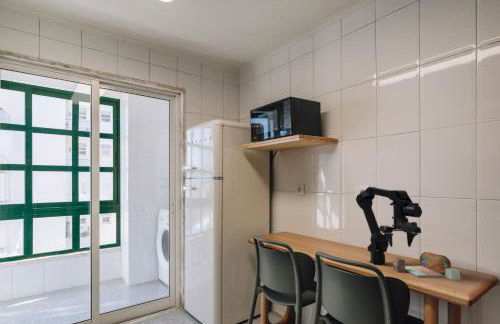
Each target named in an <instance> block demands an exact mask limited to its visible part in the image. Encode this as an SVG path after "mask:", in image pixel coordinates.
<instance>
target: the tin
mask: <svg viewBox="0 0 500 324" xmlns="http://www.w3.org/2000/svg"><path fill="white" fill-rule="evenodd" d="M419 263H420V264H421V266H423V267H425V268H427V269H430V270H432V271H434V272H436V273H439V274H445V268H452V263H451V260H450V259H449V257H447V256H445V255H443V254H438V253H433V252H430V251H429V252H426V251H424V252H422V253H421V254H420V256H419Z"/></svg>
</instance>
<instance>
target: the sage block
mask: <svg viewBox="0 0 500 324" xmlns="http://www.w3.org/2000/svg"><path fill="white" fill-rule="evenodd" d="M444 276H445V278H446V279H449V280H451V279H452V280H453V281H461V270H459V269H456V268H452V267H451V268H445V273H444ZM452 280H451V281H452Z"/></svg>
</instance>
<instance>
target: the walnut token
mask: <svg viewBox="0 0 500 324" xmlns="http://www.w3.org/2000/svg"><path fill="white" fill-rule="evenodd" d="M405 266H406V259H404V258H402V257H392V270H393V272H396V273H406V271H405Z"/></svg>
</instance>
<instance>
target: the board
mask: <svg viewBox="0 0 500 324" xmlns="http://www.w3.org/2000/svg"><path fill="white" fill-rule="evenodd" d="M405 273H408V274H410V275H412V276H415V277H416V278H425V277H431V278H433V277H434V278H436V279H437V278H446V277H445V275H443V274H442V273H440V272H436V271H433V270H430V269H427V268H425V267H423V266H422V265H405Z"/></svg>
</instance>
